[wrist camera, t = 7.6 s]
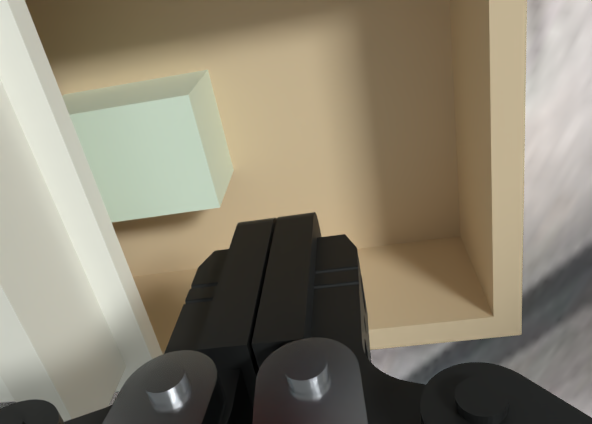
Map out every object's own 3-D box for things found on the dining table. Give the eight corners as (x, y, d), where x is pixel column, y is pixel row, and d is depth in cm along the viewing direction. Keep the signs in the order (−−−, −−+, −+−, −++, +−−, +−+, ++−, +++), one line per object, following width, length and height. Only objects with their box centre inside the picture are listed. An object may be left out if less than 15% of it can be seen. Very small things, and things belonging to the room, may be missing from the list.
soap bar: (208, 69, 18) (188, 94, 15) (233, 170, 19) (219, 207, 17) (64, 94, 18) (23, 122, 16) (101, 189, 20) (69, 228, 18)
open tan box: (468, -159, 15) (530, -190, 10) (479, 243, 21) (521, 334, 16) (-116, -33, 17) (-275, -13, 13) (45, 295, 23) (-23, 388, 19)
